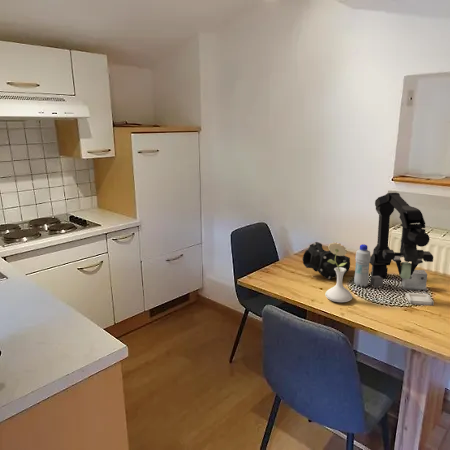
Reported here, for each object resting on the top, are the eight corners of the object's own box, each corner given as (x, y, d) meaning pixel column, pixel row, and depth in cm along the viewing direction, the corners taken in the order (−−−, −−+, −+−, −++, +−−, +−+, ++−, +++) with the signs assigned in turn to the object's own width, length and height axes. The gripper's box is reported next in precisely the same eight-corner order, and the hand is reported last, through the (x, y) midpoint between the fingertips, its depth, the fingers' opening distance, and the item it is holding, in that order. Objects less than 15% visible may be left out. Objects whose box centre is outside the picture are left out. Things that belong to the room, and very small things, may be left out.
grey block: (374, 287, 180) (374, 279, 179) (370, 284, 184) (370, 276, 183) (382, 287, 180) (383, 279, 179) (378, 283, 184) (379, 275, 183)
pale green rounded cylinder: (400, 278, 164) (402, 265, 162) (398, 274, 167) (400, 261, 166) (411, 279, 163) (412, 265, 161) (408, 275, 167) (410, 262, 165)
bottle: (361, 289, 178) (364, 247, 173) (350, 284, 184) (353, 243, 179) (371, 286, 181) (375, 245, 176) (360, 281, 187) (363, 241, 182)
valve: (328, 240, 216) (359, 256, 187) (321, 265, 218) (350, 284, 190) (293, 234, 210) (319, 248, 181) (286, 259, 212) (311, 278, 183)
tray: (410, 304, 163) (410, 300, 162) (405, 295, 170) (405, 292, 170) (433, 305, 161) (433, 302, 161) (427, 297, 169) (428, 293, 168)
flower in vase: (358, 300, 167) (362, 245, 161) (339, 307, 161) (343, 250, 155) (334, 290, 178) (337, 237, 171) (316, 296, 172) (319, 242, 166)
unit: (402, 289, 177) (404, 273, 175) (399, 284, 182) (401, 268, 180) (427, 291, 175) (429, 274, 173) (423, 286, 180) (425, 269, 178)
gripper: (388, 244, 155) (385, 280, 159) (439, 246, 151) (434, 283, 155) (383, 236, 166) (380, 270, 170) (431, 238, 162) (427, 273, 166)
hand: (405, 274), depth 165 cm, fingers closed on pale green rounded cylinder, 4 cm apart
